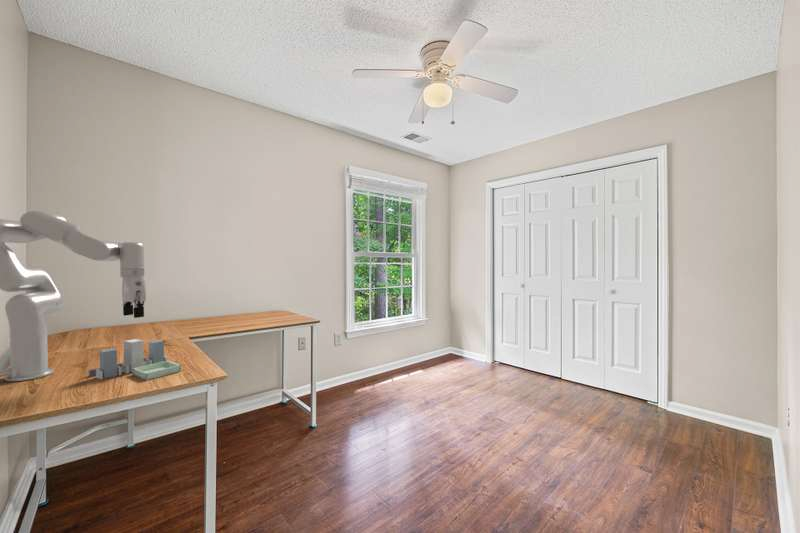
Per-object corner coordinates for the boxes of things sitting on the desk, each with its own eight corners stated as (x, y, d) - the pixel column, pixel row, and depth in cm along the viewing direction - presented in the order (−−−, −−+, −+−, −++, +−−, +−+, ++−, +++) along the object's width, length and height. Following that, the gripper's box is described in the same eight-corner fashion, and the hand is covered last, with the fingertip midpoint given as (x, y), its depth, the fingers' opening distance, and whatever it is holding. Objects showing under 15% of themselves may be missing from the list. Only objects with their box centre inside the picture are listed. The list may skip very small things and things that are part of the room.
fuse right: (153, 367, 140) (153, 343, 140) (148, 365, 142) (148, 341, 142) (164, 364, 144) (163, 341, 143) (159, 363, 146) (159, 339, 145)
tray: (145, 380, 125) (145, 373, 125) (132, 374, 131) (132, 368, 131) (180, 371, 135) (180, 365, 135) (167, 366, 141) (167, 360, 141)
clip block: (99, 382, 123) (99, 373, 123) (88, 376, 129) (88, 368, 129) (173, 364, 144) (173, 357, 144) (160, 360, 150) (160, 353, 150)
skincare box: (144, 369, 137) (143, 340, 136) (132, 373, 133) (131, 342, 133) (135, 367, 139) (135, 338, 139) (123, 370, 136) (122, 341, 135)
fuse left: (104, 378, 127) (103, 352, 126) (100, 376, 129) (99, 350, 128) (117, 375, 130) (117, 349, 130) (113, 373, 132) (112, 348, 132)
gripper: (153, 273, 134) (154, 316, 134) (134, 272, 143) (135, 313, 143) (130, 274, 127) (131, 319, 128) (112, 273, 137) (113, 315, 137)
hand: (133, 316), depth 136 cm, fingers open, 9 cm apart
